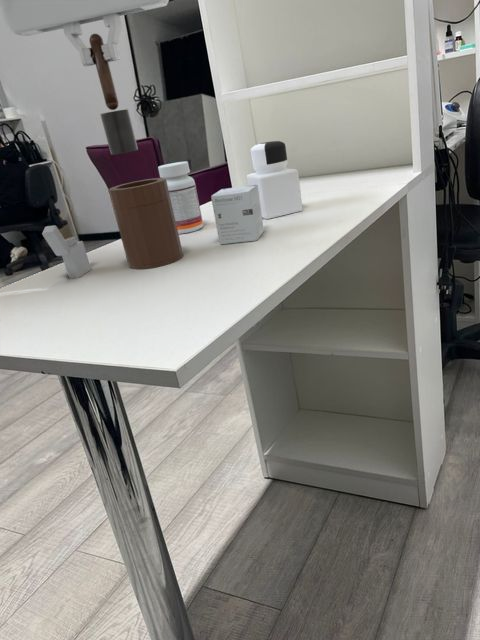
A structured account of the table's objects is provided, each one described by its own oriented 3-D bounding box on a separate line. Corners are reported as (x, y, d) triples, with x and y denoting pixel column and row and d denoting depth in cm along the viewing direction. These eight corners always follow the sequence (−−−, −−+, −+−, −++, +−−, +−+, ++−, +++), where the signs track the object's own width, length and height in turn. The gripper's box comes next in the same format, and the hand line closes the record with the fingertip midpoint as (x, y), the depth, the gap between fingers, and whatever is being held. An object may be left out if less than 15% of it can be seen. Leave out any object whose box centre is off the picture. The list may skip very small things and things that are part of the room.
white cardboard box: (219, 245, 82) (209, 196, 79) (228, 235, 87) (219, 188, 84) (258, 240, 80) (249, 190, 77) (265, 230, 86) (257, 183, 82)
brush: (106, 155, 70) (74, 35, 65) (116, 152, 73) (86, 37, 68) (132, 151, 70) (102, 29, 64) (141, 148, 73) (113, 32, 67)
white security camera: (287, 206, 101) (278, 138, 96) (303, 210, 95) (294, 138, 90) (252, 214, 99) (240, 146, 94) (266, 219, 93) (254, 146, 88)
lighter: (81, 270, 81) (64, 217, 78) (91, 268, 81) (75, 215, 78) (58, 285, 75) (39, 228, 72) (70, 284, 75) (51, 227, 72)
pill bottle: (174, 228, 100) (160, 164, 95) (207, 223, 99) (193, 159, 94) (166, 236, 94) (150, 169, 89) (200, 231, 93) (186, 163, 88)
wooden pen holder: (121, 272, 76) (99, 193, 72) (139, 256, 84) (120, 183, 79) (175, 265, 75) (156, 184, 71) (188, 249, 82) (172, 175, 78)
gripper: (161, -87, 62) (187, 48, 68) (2, -47, 66) (40, 78, 72) (144, -104, 57) (174, 45, 63) (-28, -60, 60) (15, 77, 66)
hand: (101, 63), depth 67 cm, fingers closed on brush
